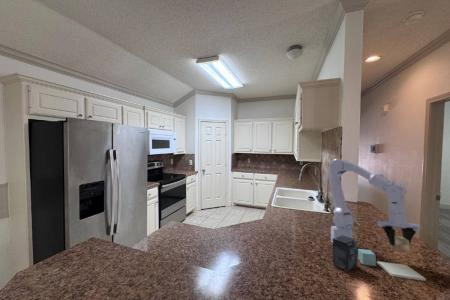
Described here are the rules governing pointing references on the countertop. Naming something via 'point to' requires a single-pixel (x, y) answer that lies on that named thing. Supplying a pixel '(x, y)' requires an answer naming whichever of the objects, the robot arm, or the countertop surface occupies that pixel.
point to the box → (344, 252)
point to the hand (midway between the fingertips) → (399, 245)
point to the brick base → (401, 244)
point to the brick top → (366, 257)
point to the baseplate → (400, 271)
